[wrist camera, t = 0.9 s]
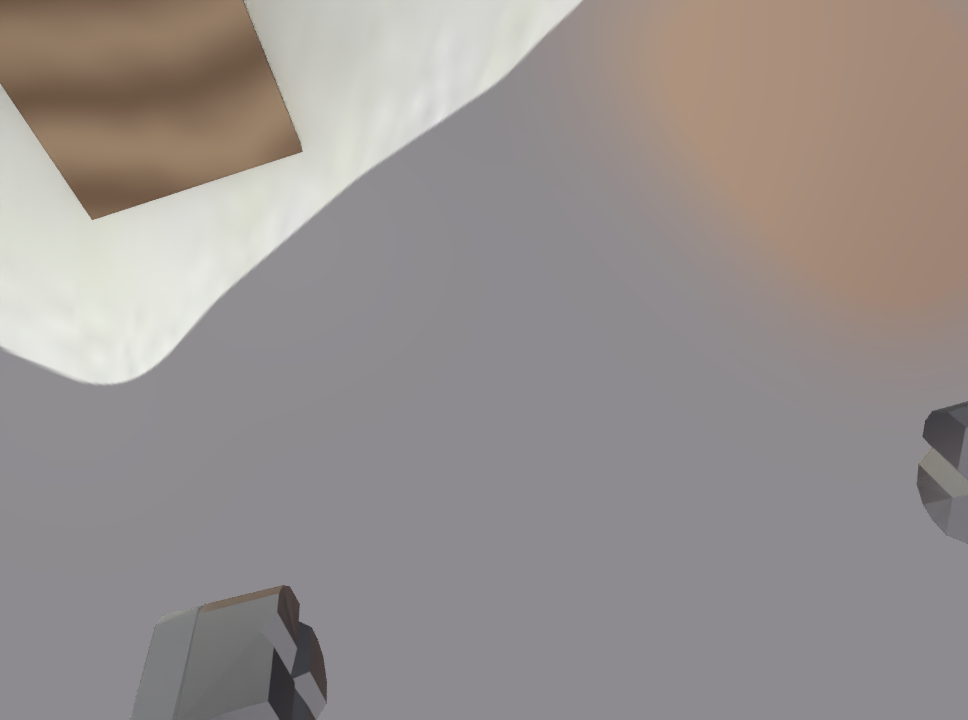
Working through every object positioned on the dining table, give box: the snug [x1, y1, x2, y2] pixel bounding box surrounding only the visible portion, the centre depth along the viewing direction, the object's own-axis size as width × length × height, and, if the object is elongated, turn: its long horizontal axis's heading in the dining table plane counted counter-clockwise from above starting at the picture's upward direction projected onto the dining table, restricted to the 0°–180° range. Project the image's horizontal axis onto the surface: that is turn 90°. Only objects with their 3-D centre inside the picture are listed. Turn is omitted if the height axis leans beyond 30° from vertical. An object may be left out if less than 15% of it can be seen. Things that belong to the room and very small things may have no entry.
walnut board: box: [0, 0, 303, 220], centre depth 44 cm, size 14×14×1 cm
